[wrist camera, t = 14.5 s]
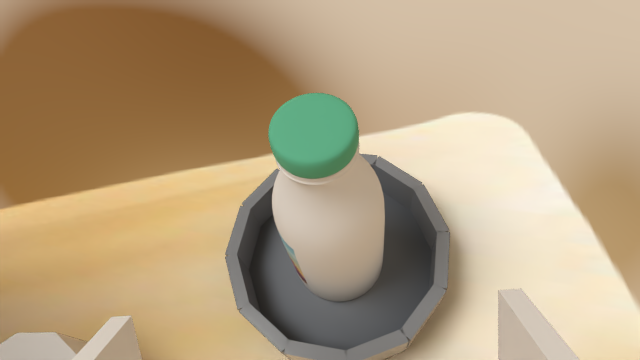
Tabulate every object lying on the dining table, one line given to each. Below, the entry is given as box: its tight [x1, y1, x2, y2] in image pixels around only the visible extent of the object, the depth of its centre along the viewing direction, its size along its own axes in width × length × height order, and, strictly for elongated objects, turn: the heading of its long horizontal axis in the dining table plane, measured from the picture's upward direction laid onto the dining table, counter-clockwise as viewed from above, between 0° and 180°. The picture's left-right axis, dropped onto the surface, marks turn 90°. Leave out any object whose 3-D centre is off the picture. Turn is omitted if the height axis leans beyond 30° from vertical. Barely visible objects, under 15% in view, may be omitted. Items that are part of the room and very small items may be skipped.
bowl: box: [225, 154, 450, 360], centre depth 37 cm, size 18×18×5 cm
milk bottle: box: [269, 93, 385, 302], centre depth 30 cm, size 8×8×20 cm
